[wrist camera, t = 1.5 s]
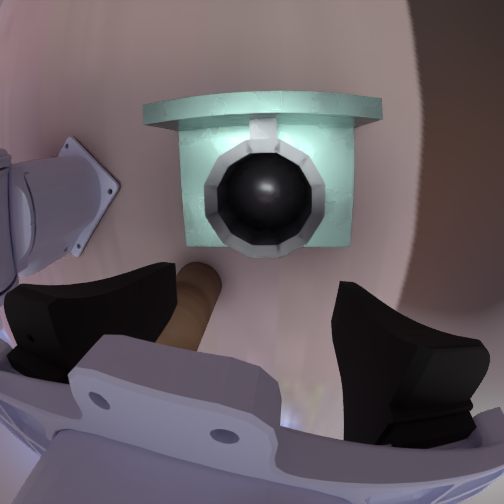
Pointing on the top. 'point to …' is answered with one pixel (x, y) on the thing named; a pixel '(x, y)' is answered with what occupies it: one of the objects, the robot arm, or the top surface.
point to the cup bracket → (266, 167)
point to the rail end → (192, 306)
